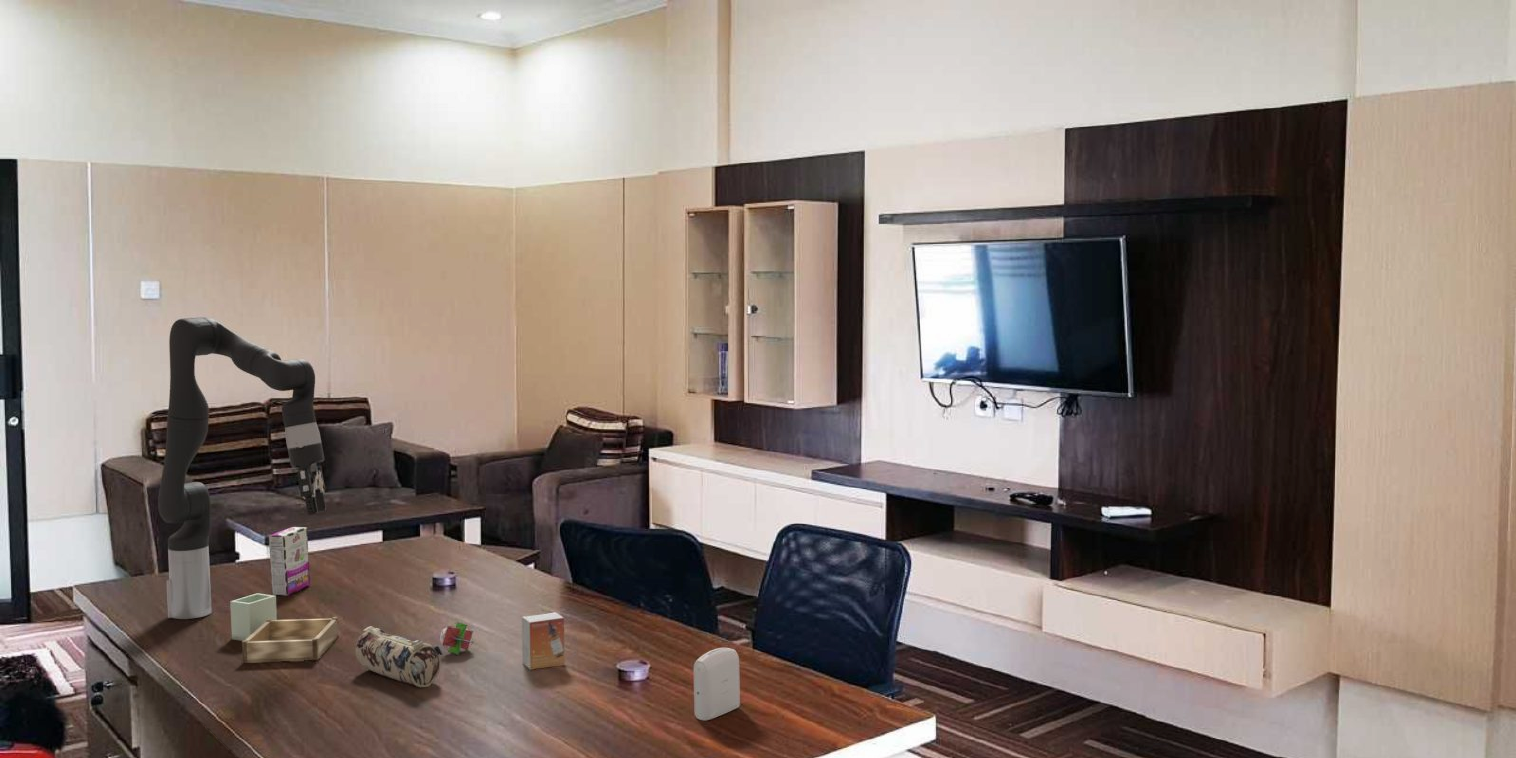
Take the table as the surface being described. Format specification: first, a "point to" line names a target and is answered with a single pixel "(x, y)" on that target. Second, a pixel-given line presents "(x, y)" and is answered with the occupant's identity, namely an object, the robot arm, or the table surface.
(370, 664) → the pencil case
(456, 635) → the geometric puzzle
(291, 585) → the candy bar box
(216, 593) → the table surface
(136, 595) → the table surface
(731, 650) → the photo printer
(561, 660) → the small box
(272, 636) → the wooden tray
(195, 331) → the robot arm
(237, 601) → the box
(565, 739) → the table surface
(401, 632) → the table surface
